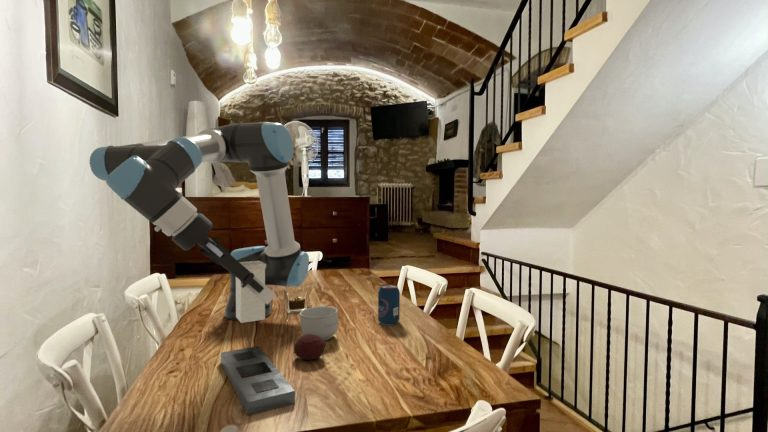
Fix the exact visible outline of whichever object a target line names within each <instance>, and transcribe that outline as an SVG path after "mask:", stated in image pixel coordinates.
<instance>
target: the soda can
mask: <svg viewBox="0 0 768 432" xmlns="http://www.w3.org/2000/svg"><path fill="white" fill-rule="evenodd" d="M400 291H401V290H400V289H399V286H398V285H397V284H389V283H387V284H382V285H380V286H379V289H378V292H377V293H378V295H377V297H378V298H377V319H378V322H379V324H380V325H383V326H395V325H397V324H398V322H400V312H401V311H400V307H401V306H400V305H401V304H400V300H401V299H400V293H401V292H400ZM394 324H395V325H394Z"/></svg>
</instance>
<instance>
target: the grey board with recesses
mask: <svg viewBox="0 0 768 432" xmlns="http://www.w3.org/2000/svg"><path fill="white" fill-rule="evenodd" d="M220 363H221V366H222V368H223V370H224V372H225V373H226V376H227V378H228V379H229V381H230V384H231V386H232V387H233V390H234V392H235V393H236V396H237V397H238V399H239V402H240V404H241V405H242V408H243V409H244V411H245V413H246V415H247V416H251V415H256V414H259V413H263V412H267V411H271V410H274V409H278V408H282V407H287V406H289V405H295V403H296V391H295V389H294V388H293V386H291V384H290V382H289V381H287V379H286V378H285V377H284V376H283V374H282V373H281V372H280V371H279V369H278V368H277V367H276V365H275V364H274V363H273V362H272V361H271V360H270V358H269V357H268V356H267V355H266V353H265V352H264V350H262V349H261V347H260V346H259V345H256V346H250V347H245V348H238V349H235V350H234V349H233V350H229V351H221V352H220Z"/></svg>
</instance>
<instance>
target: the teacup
mask: <svg viewBox="0 0 768 432" xmlns="http://www.w3.org/2000/svg"><path fill="white" fill-rule="evenodd" d="M299 317H300V318H299V319H300V330H301V333H302V335H305V334H314V335H318V336H320V337H321V338H322V339H323V340H324V341H328V340H330V339H332V337H333V336H334V335H335V334H336V333H337V332H338V329H339V328H338V327H339V320H338V319H339V316H338V308H336V307H333V306H326V305H325V304H323V305H320V306H313V307H308V308H305V309H303V310H301V311H300V312H299Z"/></svg>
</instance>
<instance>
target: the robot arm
mask: <svg viewBox="0 0 768 432" xmlns="http://www.w3.org/2000/svg"><path fill="white" fill-rule="evenodd" d="M294 149H295V148H294V142H293V139H292V135H291V133H290V132H289V130H288V128H287V127H286V126H285V125H284V124H282V123H279V122H272V121H271V122H270V121H266V122H265V121H264V122H263V121H262V122H249V123H248V122H247V123H246V122H244V123H231V124H226V125H221V126H217V127H214V128H207V129H202V130H201V131H200V132H199V133H198V134H192V135H187V136H178V137H173V138H172V137H171V138H165V139H157V140H152V141H144V142H137V143H132V144H125V145H124V144H123V145H116V146H114V145H107V146H100V147H97V148H96V149H94V150H93V151H92V152H91V154H90V157H89V165H90V170H91V172H92V174H93V175H94V176H95V177H96V178H97V179H99V180H101V181H105V182H106V185H107V186H108V187H109V188H110V189H111V190H112V192H114V193H115V194H116V195H117V196H118V197H119V198H120V199H121V200H122V201H124V202H125V203H126V204H128V205H129V206H130V207H132V208H133V209H134V210H135V211H137V212H138V213H139V214H140V215H141V216H143V217H144V218H145V220H147V221H149V222H150V223H152V224H153V225H154V226H155V227H154V228H153V229H154V231H155V232H160V231H161V232H162V233H163V234H165V236H167V237H171V236H172V237H171V240H172V242H174V243H175V244H176V245H177V246H178V247H180V248H181V249H182V250H183V251H189V250H191V249H192V248H194V247H195V245H198V246H199V247H200V249H199V250H198V252H200V253H201V254H202V255H204V256H205V257H207V258H208V259H210V260H212V261H213V262H214V263H215V264H216V265H220V266H221V267H223V268H224V269H225V270H226V271H228V272H229V285H230V286H229V287H230V293H229V296H228V299H227V302H226V305H225V307H224V308H225V309H224V317H225V318H226V319H228V320H232V321H233V320H234V321H239V320H238V319H237V318H236V277H237V278H238V279H239V280H240V281H242V283H243V285H242V286H241V287H243V288H244V287H245V286H246V287H247V288H248V289H250V290H251V291H252V292H253V293H254V294H255V295H257V296H258V297H259V298H260V299H261V300H262V301H264V302H265V318H266V317H267V316H269V315H271V314H272V305H271V302H272V300H274V298H275V297H277V296H276V295H277V294H276V293H275V292H274V291H272V290H271V289H270V288H269V287H268V286H274V287H275V286H277V287H287V288H290V287H300V286H301V285H302V284H303V283H304V282H305V279H306V278H307V275H308V271H309V266H310V258H309V257H310V256H309V255H308V252H305V251H302V249H301V245H300V243H299V242H297V241H296V240H295V234H294V227H293V221H292V220H293V219H292V215H291V208H290V207H291V205H290V201H289V199H290V198H289V195H288V194H289V193H288V187H287V182H286V180H287V179H286V171H287V168H289V162H291V161H292V159H293V157H294V151H295V150H294ZM205 162H207V163H210V164H216V163H220V162H221V163H223V162H227V163H228V162H229V163H247V164H248V167H249V168H248V169H249V171H250V172H251V173H253V174H254V175H255V178H256V184H257V189H258V195H259V201H260V208H261V211H262V212H261V213H262V217H263V223H264V224H263V225H264V230H265V235H266V241H267V246H265V245H256V246H249V247H248V246H247V247H243V248H241V247H240V248H238V249H234V250H232V251H230V250H229V249H228V248H226V247H225V246H224V245H223V244H222V242H221V241H220V240H219V239H218V238H217V237H214V236H212V237H211V238H210V237H209V236H208V235H207V234H208V233H209V232H211V230H212V228H213V222H212V221H211V220H210V219H209V218H208V217H206V216H205V215H204V214H203V213H201V212H198V208H197V207H196V206H195V205H194V204H192V202H190V201H189V200H188V199H187V198H186V197H185V196H183V195H182V194H181V193H180V192H179V191H178V190H176V189H177V188H178V187H179V186H180V185H181V184H182V183H183V182H184V181H185V180H187V179H188V178H189V177H190V176H191V175H193V174H194V173H195V172H196V170H197V168H198V167H199V166H200V165H201V164H202V163H205ZM249 261H261V262H263V263H265V264H266V268H265V285H264V284H263V283H262V282H261V281H260V280H259V279H258V278H257V277H255V276H254V274H253V273H251V272H250V271H249V270H247V269H246V268H245V267H244V266H243V265H242V264H241V263H239V262H249Z"/></svg>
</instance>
